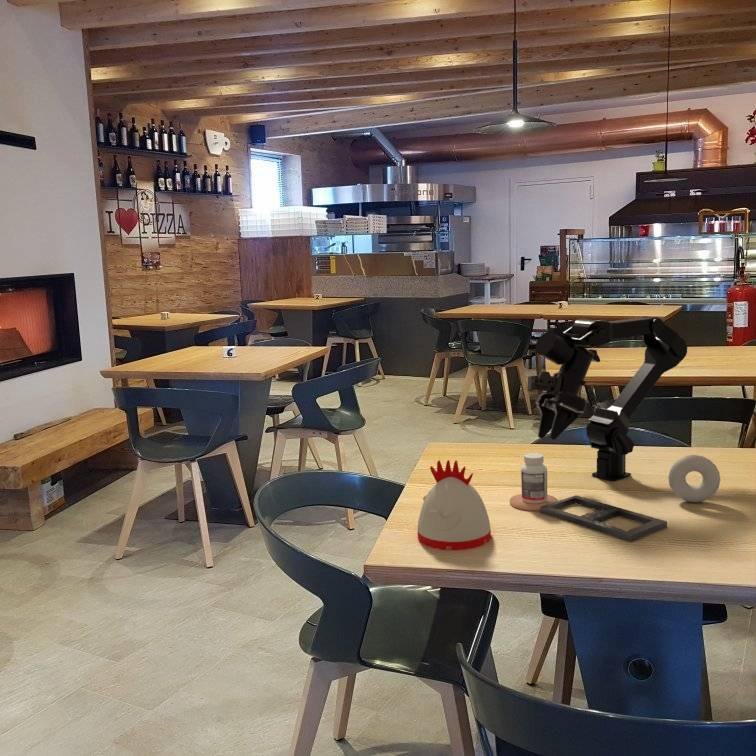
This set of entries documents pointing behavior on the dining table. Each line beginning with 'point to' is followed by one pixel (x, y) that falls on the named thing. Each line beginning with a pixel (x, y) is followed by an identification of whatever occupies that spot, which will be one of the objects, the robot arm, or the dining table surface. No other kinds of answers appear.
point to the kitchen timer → (453, 512)
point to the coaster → (520, 504)
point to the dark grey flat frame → (604, 518)
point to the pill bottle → (534, 479)
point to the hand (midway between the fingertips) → (545, 438)
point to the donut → (688, 465)
